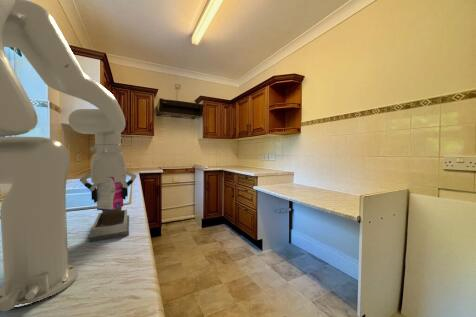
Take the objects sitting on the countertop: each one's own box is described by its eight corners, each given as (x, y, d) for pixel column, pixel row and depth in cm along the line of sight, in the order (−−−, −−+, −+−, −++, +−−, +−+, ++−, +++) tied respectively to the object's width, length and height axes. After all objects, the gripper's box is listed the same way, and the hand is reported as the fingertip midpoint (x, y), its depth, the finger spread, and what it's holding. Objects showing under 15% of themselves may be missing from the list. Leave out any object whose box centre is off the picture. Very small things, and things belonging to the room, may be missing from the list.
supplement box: (111, 211, 67) (110, 177, 66) (96, 210, 68) (95, 176, 68) (124, 206, 73) (123, 174, 72) (110, 205, 74) (109, 174, 73)
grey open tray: (128, 235, 68) (128, 213, 68) (88, 242, 63) (88, 218, 62) (129, 218, 84) (128, 201, 83) (97, 223, 79) (96, 204, 78)
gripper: (74, 150, 62) (76, 206, 63) (137, 150, 70) (138, 199, 71) (79, 150, 68) (81, 200, 69) (136, 149, 77) (137, 195, 78)
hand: (110, 199), depth 70 cm, fingers closed on supplement box, 8 cm apart
